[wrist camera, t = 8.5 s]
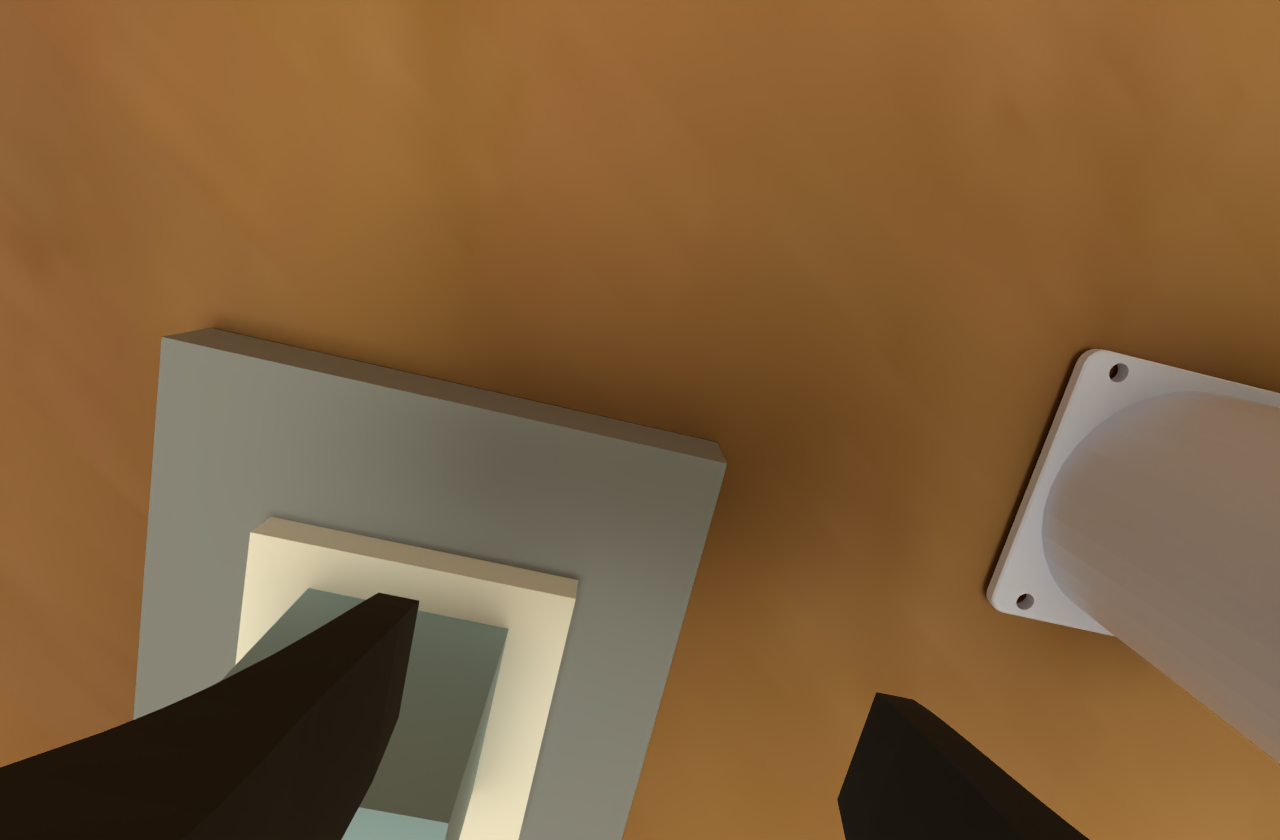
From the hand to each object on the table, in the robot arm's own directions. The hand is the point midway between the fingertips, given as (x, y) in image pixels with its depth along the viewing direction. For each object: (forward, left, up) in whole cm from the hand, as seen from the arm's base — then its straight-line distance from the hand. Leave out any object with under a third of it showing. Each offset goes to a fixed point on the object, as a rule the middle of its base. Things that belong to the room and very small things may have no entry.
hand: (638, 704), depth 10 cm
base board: (+5, +6, -9) cm, 12 cm away
